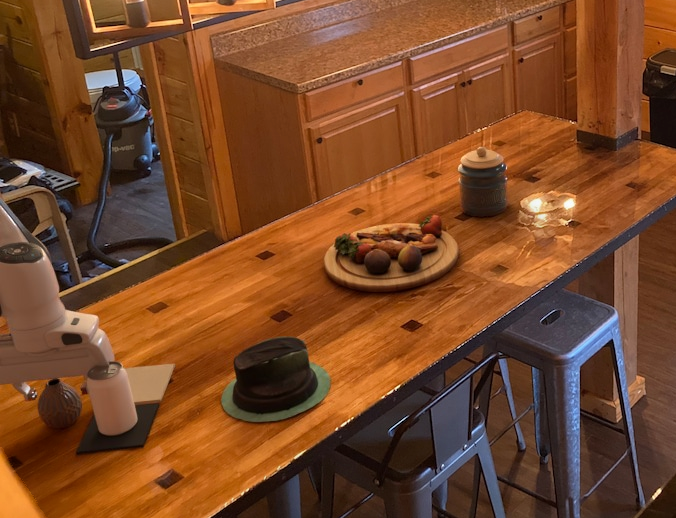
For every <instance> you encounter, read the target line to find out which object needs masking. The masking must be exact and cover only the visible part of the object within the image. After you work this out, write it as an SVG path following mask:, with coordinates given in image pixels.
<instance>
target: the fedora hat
mask: <svg viewBox="0 0 676 518" xmlns="http://www.w3.org/2000/svg"><path fill="white" fill-rule="evenodd" d="M233 368H234V374H235V378H234V379H233V380H232V381H231V382H229V383H228V384H227V386H226V387H224V390H223V392H222V395H221V398H220V399H221V400H220V401H221V406H222V408H223V410H224V412H225V413H227V414H228V415H229V416H231V417H233V418H234V419H237V420H238V419H239V420H242V421H245V422H252V423H262V422H263V423H264V422H273V421H274V422H276V421H281V420H285V419H288V418H291V417H294V416H296V415H299V414H300V413H302V412H305V411H307V410H310V409H311V408H313V407H315V406H317V404H319V403H321V402H322V401H323V400H324V399H325V398H326V397H327V395H328V393H329V391H330V388H331V384H332V383H331V381H332V379H331V376H330V374H329V372H328V371H327V370H326V369H325V368H324V367H323V366H320V365H319V364H317V363H315V362H311V361H310V359H309V351H308V347H307V345H306V340H305V339H301V338H298V337H297V336H277V337H273V338H268V339H264V340H263V341H260V342H258V343H256V344H253V345H251V346H248V347H247V348H245V349H243V350H241V352H239V353H237V354H236V356H235V357H234V358H233Z"/></svg>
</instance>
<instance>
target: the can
mask: <svg viewBox="0 0 676 518" xmlns="http://www.w3.org/2000/svg"><path fill="white" fill-rule="evenodd" d="M109 363H110V364H109V365H108V366H99V367H98V365H95V366H94V367H92V368H91V369H90V370H89V371H88V373H87V376H88V378H87V379H86V382H87V387H88V391H89V394H88V395H89V398H90V403H91V407H92V410H93V416H94V415H95V418H96V422H97V426H98V429H99V431H100V432H101V433H102V434H104V435H107V436H115V435H120V434H123V433H125V432H127V431H129V430H131V429H132V428H133V427H134V426H135V424H136V423H137V413H136V409H135V405H134V400H133V396H132V392H131V388H130V383H129V379H128V375H127V372H126V370H125V369H124V368H125V367H123V363H121V362H120V361H117V360H114V361H109Z"/></svg>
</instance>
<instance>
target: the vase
mask: <svg viewBox="0 0 676 518" xmlns="http://www.w3.org/2000/svg"><path fill="white" fill-rule="evenodd" d="M82 411H83V401H82V398H81V395H80V393H79V392H78V390H77V389H76V388H75V387H74V386H72V385H70V384H68V383H66V382H64V381H63V380H62V378H57V379H48V381H47V382H46V383H45V386H44V389H43V390H42V392H41V393H40V395H39V397H38V400H37V413H38V415H39V418H40V419H41V421H42V422H43V423H44V425H46V426H48V427H49V428H53V429H57V430H58V429H60V430H61V429H65V428H68V427H71V426H72V425H74V424H75V423H76V422H77V421H78V419H79V418H80V416H81V414H82Z"/></svg>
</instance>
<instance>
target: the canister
mask: <svg viewBox="0 0 676 518" xmlns="http://www.w3.org/2000/svg"><path fill="white" fill-rule="evenodd" d="M507 168H508V166H507V163H505V162H504V156H503V155H502V154H501V153H498V152H496V151H494V150H491V149H486V147H484V146H479V147H477V149H475V150H471V151H468V152H467V153H466V154H464V155H463V156H462V157H461V158H460V164H459V165H458V167H457V172H458V173H459V178H458V185H459V206H460V209H462V210H461V211H462V212H463V213H464V212H465V213H464V214H466V215H468V214H469V215H468V216H470V215H471V217H475V216H479V217H478V218H485V217H484V216H487V217H488V216H489V217H493V216H498V215H500V214H502V213H504V212H505V211H506V210H507V209H506V208H508V203H509V197H508V186H507V185H508V176H507V175H506V171H507ZM503 211H504V212H503ZM487 217H486V218H487Z"/></svg>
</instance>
